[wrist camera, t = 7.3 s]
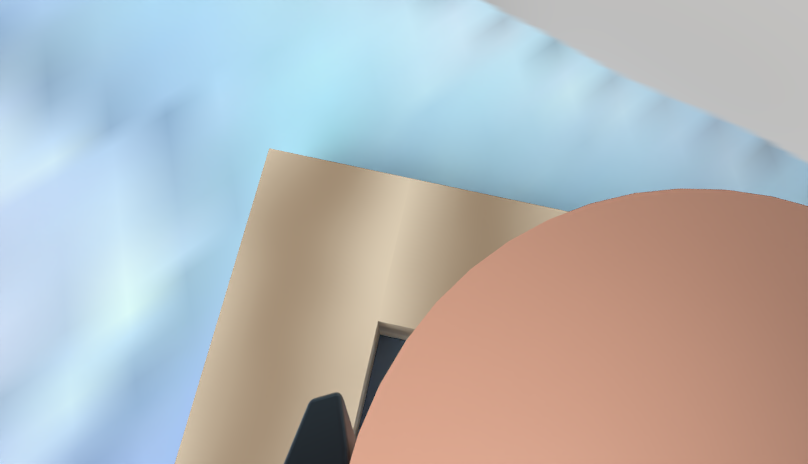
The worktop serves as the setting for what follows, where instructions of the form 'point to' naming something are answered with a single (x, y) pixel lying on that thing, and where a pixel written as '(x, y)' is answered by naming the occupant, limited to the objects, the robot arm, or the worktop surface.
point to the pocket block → (330, 294)
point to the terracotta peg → (614, 343)
